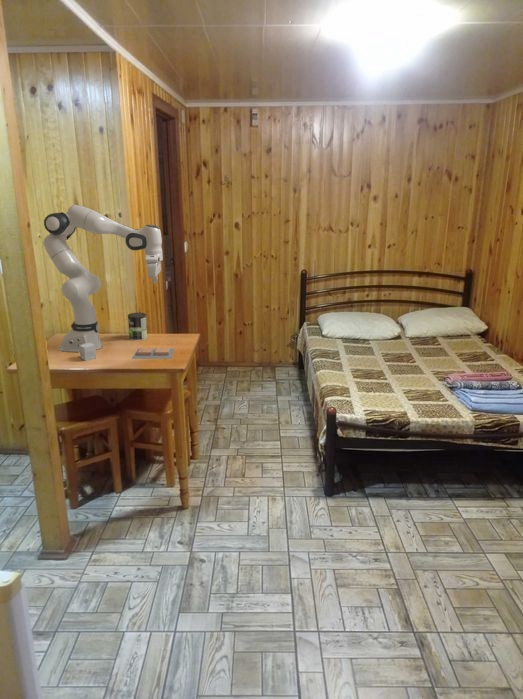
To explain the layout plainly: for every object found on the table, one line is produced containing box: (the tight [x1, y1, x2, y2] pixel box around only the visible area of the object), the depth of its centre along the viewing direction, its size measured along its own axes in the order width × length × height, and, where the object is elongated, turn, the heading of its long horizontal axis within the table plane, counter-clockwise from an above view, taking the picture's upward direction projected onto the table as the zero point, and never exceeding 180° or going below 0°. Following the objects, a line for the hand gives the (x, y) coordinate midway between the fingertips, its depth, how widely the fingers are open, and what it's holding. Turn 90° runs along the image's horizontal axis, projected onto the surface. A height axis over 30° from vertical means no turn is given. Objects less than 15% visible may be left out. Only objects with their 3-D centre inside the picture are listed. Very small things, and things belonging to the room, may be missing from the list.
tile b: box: [155, 347, 171, 355], centre depth 260 cm, size 7×2×7 cm
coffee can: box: [127, 312, 148, 341], centre depth 283 cm, size 10×10×14 cm
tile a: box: [138, 347, 154, 355], centre depth 259 cm, size 7×2×7 cm
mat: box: [131, 348, 176, 360], centre depth 259 cm, size 20×16×1 cm
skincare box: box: [79, 343, 97, 362], centre depth 251 cm, size 6×6×7 cm
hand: (155, 283), depth 261 cm, fingers closed
